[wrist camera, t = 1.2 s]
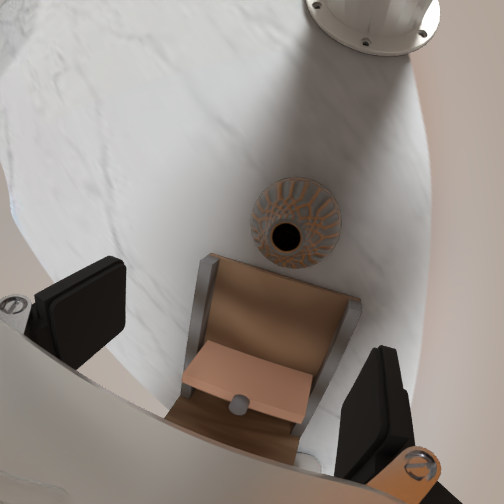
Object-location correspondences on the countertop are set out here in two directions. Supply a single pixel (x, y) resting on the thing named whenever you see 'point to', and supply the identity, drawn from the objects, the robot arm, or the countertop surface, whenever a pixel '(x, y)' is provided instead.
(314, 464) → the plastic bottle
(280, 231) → the vase
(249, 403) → the pusher plate
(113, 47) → the countertop surface
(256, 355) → the pusher lane
